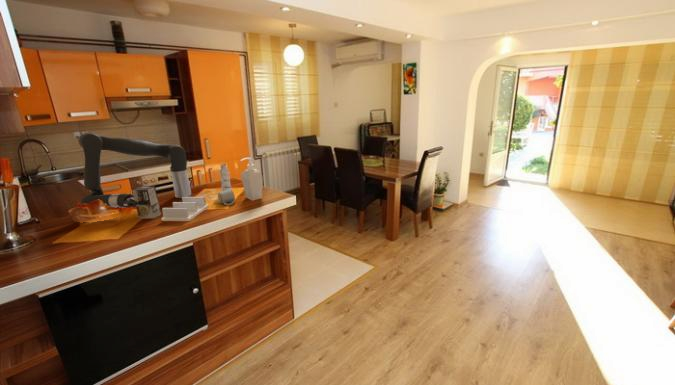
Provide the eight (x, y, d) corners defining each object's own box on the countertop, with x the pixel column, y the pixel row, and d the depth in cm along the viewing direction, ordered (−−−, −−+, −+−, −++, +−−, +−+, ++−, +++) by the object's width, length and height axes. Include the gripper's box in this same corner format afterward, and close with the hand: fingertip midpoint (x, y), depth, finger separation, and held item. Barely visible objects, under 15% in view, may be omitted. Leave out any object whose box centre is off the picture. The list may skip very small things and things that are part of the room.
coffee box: (161, 214, 170) (156, 186, 165) (154, 218, 164) (147, 189, 159) (146, 214, 171) (140, 186, 166) (138, 218, 165) (131, 189, 160)
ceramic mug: (218, 202, 187) (216, 190, 185) (231, 199, 192) (230, 187, 190) (223, 207, 179) (222, 194, 177) (237, 204, 184) (236, 192, 182)
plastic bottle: (222, 196, 199) (218, 166, 193) (221, 193, 205) (217, 164, 199) (233, 194, 202) (229, 164, 196) (231, 192, 208) (227, 163, 202)
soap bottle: (240, 197, 195) (236, 157, 188) (255, 194, 202) (251, 155, 194) (249, 202, 186) (245, 160, 179) (264, 198, 193) (260, 157, 185)
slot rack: (184, 207, 181) (182, 196, 179) (208, 207, 180) (206, 196, 178) (161, 220, 161) (159, 209, 159) (189, 221, 160) (187, 209, 158)
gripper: (109, 198, 158) (140, 198, 156) (129, 190, 172) (158, 190, 170) (112, 211, 160) (143, 212, 159) (132, 202, 174) (160, 202, 172)
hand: (150, 200), depth 164 cm, fingers closed on coffee box, 6 cm apart
